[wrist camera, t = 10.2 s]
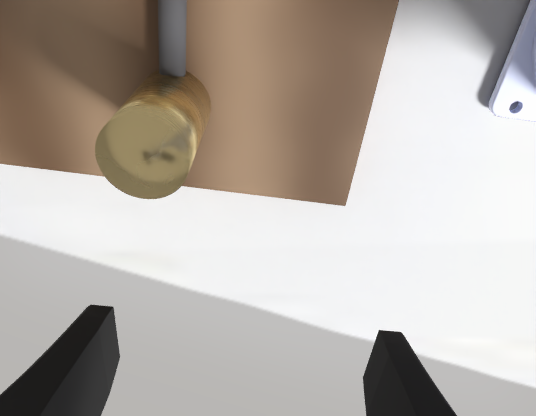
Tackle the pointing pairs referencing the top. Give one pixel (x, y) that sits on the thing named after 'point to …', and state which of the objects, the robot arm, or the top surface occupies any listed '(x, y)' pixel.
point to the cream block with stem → (157, 119)
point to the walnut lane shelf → (211, 76)
